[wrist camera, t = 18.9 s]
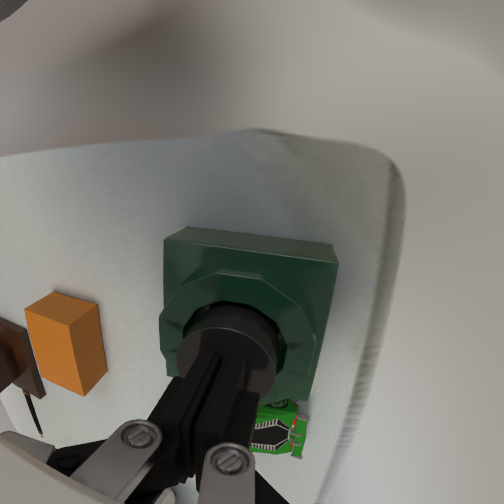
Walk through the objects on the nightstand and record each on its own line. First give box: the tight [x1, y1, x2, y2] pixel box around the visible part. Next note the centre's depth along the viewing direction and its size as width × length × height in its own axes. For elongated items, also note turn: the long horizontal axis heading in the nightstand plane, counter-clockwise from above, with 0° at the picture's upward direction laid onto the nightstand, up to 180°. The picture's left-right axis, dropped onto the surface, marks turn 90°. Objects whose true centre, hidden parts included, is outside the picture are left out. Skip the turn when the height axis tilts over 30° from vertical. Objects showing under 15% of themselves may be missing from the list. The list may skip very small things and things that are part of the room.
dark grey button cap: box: [176, 305, 280, 401], centre depth 13 cm, size 4×4×2 cm
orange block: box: [24, 292, 107, 396], centre depth 19 cm, size 6×4×4 cm
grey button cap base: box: [159, 226, 339, 406], centre depth 16 cm, size 8×8×5 cm
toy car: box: [249, 398, 309, 459], centre depth 19 cm, size 10×5×2 cm, turn 90°
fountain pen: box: [22, 389, 43, 438], centre depth 26 cm, size 14×1×2 cm
